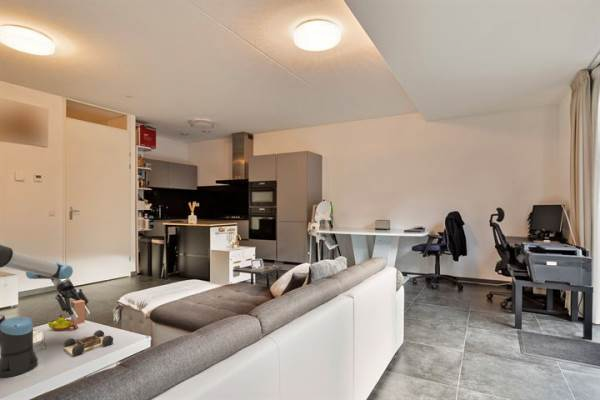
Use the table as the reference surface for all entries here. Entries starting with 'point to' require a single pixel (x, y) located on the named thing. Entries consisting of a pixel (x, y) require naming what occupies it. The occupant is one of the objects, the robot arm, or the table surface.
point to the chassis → (87, 343)
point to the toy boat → (61, 324)
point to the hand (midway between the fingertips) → (82, 316)
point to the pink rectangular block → (78, 311)
